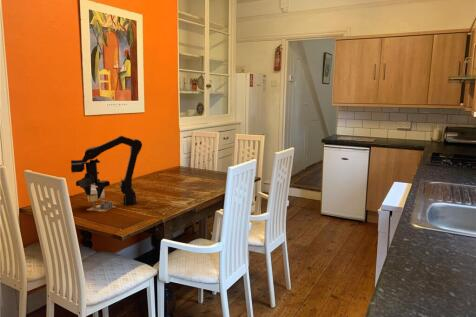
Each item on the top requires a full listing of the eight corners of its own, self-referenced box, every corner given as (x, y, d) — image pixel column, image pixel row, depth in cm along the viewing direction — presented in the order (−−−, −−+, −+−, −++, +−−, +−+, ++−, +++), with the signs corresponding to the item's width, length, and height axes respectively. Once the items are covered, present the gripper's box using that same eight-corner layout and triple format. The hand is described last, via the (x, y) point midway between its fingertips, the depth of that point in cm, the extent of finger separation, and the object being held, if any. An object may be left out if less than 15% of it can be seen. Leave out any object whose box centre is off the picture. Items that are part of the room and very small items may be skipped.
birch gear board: (115, 208, 208) (115, 199, 208) (104, 213, 199) (103, 204, 198) (98, 206, 212) (97, 198, 211) (86, 211, 203) (85, 202, 202)
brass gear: (102, 198, 207) (102, 193, 207) (95, 201, 201) (94, 196, 201) (93, 198, 209) (92, 193, 209) (85, 201, 203) (85, 195, 203)
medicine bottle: (99, 196, 235) (97, 178, 233) (105, 198, 231) (103, 179, 229) (88, 199, 230) (86, 180, 228) (94, 200, 225) (92, 181, 223)
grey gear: (114, 206, 209) (114, 201, 208) (109, 209, 202) (108, 204, 202) (104, 205, 210) (103, 200, 209) (98, 209, 203) (98, 204, 203)
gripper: (67, 173, 198) (70, 200, 200) (96, 174, 192) (98, 203, 195) (81, 169, 208) (84, 195, 211) (109, 170, 203) (111, 197, 205)
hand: (93, 198), depth 205 cm, fingers closed on brass gear, 6 cm apart
